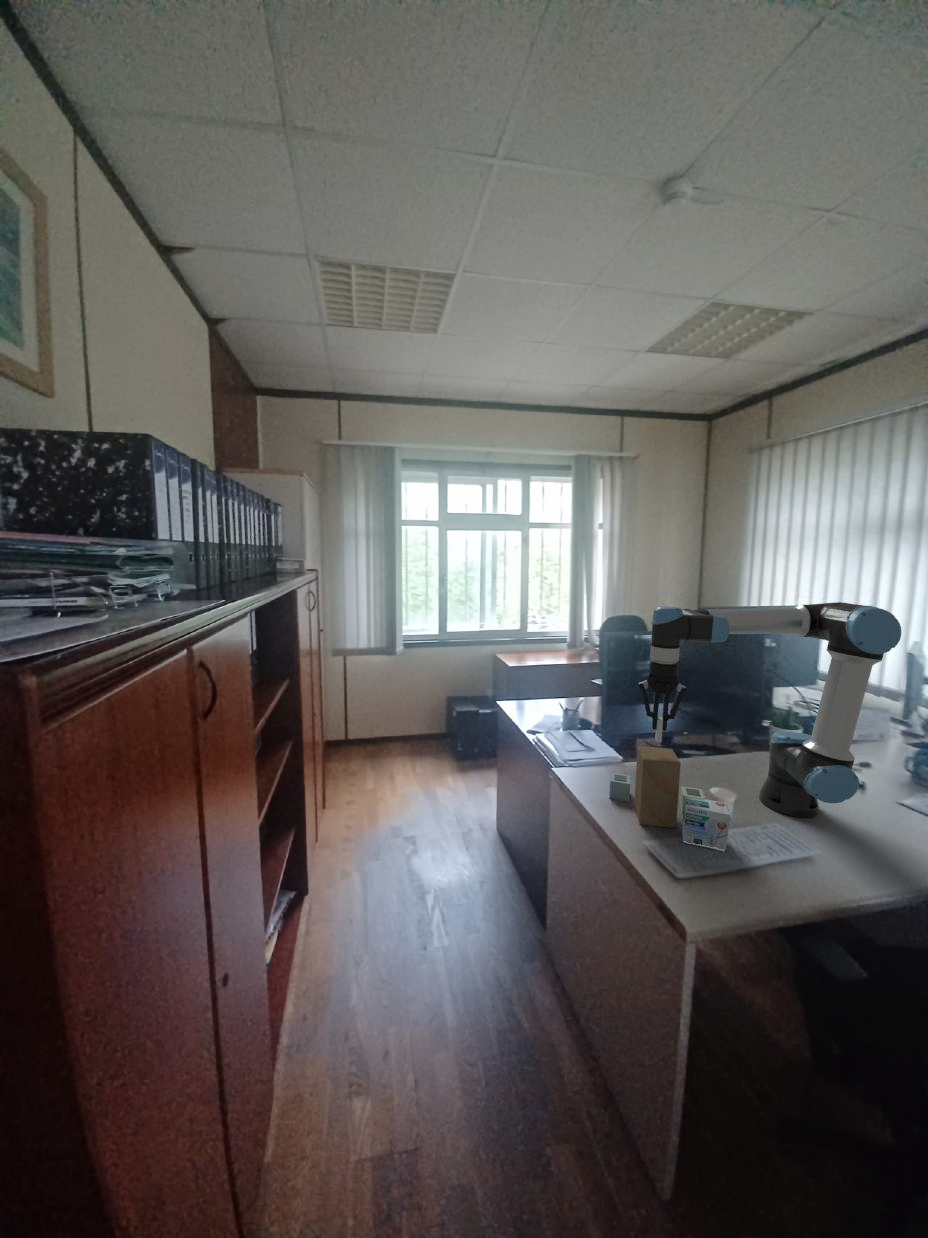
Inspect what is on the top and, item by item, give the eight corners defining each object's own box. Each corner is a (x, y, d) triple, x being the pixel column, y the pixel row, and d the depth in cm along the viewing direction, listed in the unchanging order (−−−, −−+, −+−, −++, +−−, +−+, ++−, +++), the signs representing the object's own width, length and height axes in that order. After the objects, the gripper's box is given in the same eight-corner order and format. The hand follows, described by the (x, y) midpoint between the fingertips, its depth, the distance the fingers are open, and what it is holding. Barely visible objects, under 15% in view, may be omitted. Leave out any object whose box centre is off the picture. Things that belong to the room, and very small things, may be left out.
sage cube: (700, 807, 143) (702, 788, 142) (704, 818, 137) (705, 798, 136) (679, 804, 145) (681, 785, 144) (681, 814, 139) (683, 794, 138)
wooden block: (676, 829, 131) (681, 762, 128) (639, 825, 133) (643, 759, 130) (668, 810, 141) (672, 748, 138) (633, 806, 143) (637, 745, 140)
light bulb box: (682, 844, 124) (685, 806, 123) (681, 830, 131) (683, 794, 129) (727, 853, 120) (730, 815, 119) (723, 839, 127) (727, 802, 125)
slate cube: (629, 793, 151) (630, 775, 151) (629, 802, 146) (630, 783, 145) (609, 789, 153) (610, 772, 152) (609, 798, 148) (610, 780, 147)
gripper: (687, 660, 132) (681, 738, 135) (639, 656, 136) (634, 732, 139) (691, 665, 125) (684, 748, 128) (639, 661, 129) (634, 742, 132)
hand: (658, 740), depth 134 cm, fingers closed
